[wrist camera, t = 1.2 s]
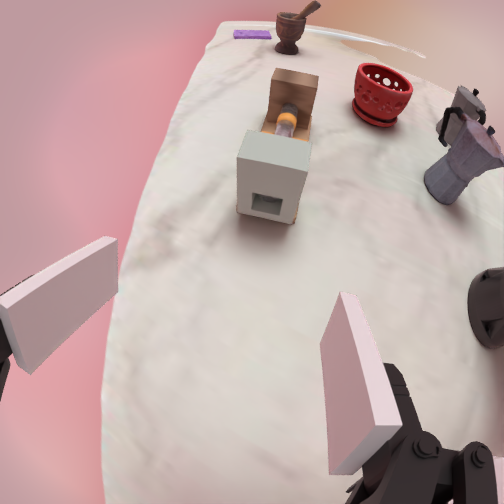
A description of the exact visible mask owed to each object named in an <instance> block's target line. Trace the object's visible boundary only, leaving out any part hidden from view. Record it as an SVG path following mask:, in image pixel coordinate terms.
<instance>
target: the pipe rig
mask: <svg viewBox="0 0 504 504" xmlns="http://www.w3.org/2000/svg"><path fill="white" fill-rule="evenodd" d="M318 77H319V76H315V75H311V74H306V73H301V72H296V71H291V70H286V69H280V68H276V69H275V71H274V74H273V76H272V78H271V86H270V96H269V106H268V112H267V115H266V118H265V121H264V123H263V126H262V129H261V132H264V133H269V134H274V135H279V136H284V137H289V138H293V139H298V140H302V141H307V142H308V141H309V134H310V127H311V119H312V116H311V113H312V109H313V105H314V100H315V96H316V92H317V87H318ZM258 196H259V198H260V199H262V200H263V201H266V202H276V201H278V200H279V198H276V197H272V196H267V195H262V194H258ZM298 204H299V203H298ZM297 210H298V206H297V209H296V213H295V216H294V219H293V222H292V223H295V220H296V216H297Z"/></svg>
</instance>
